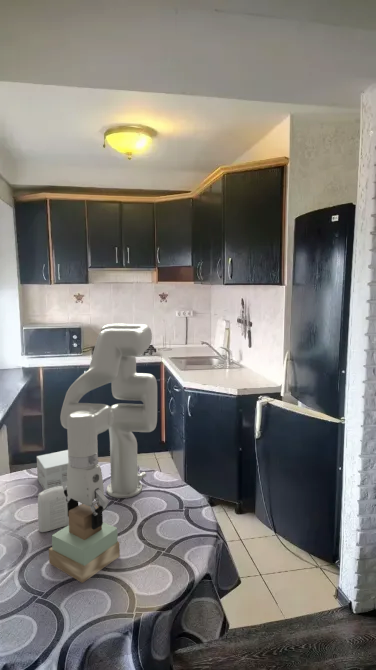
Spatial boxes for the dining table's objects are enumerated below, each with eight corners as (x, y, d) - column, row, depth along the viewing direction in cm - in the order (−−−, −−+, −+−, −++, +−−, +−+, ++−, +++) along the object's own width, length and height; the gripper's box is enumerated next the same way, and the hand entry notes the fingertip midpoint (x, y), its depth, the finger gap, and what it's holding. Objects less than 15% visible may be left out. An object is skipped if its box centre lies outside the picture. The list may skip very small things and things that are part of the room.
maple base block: (87, 541, 125) (86, 526, 124) (119, 557, 117) (119, 542, 117) (49, 564, 114) (48, 548, 114) (82, 584, 107) (81, 567, 106)
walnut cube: (86, 522, 119) (86, 501, 119) (101, 529, 116) (101, 508, 115) (69, 532, 114) (68, 510, 114) (84, 540, 111) (83, 518, 110)
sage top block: (86, 528, 124) (86, 514, 123) (117, 541, 117) (117, 528, 117) (52, 549, 114) (51, 535, 113) (84, 565, 107) (84, 550, 107)
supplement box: (80, 469, 173) (79, 446, 172) (91, 481, 162) (90, 457, 161) (36, 479, 164) (35, 455, 163) (45, 493, 153) (44, 467, 152)
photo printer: (70, 518, 136) (69, 480, 135) (74, 524, 133) (73, 486, 131) (36, 528, 131) (35, 489, 129) (40, 534, 127) (39, 495, 126)
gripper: (117, 462, 110) (118, 525, 112) (73, 447, 121) (75, 505, 123) (94, 472, 104) (95, 539, 106) (50, 455, 115) (53, 516, 117)
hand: (85, 520), depth 115 cm, fingers open, 9 cm apart
